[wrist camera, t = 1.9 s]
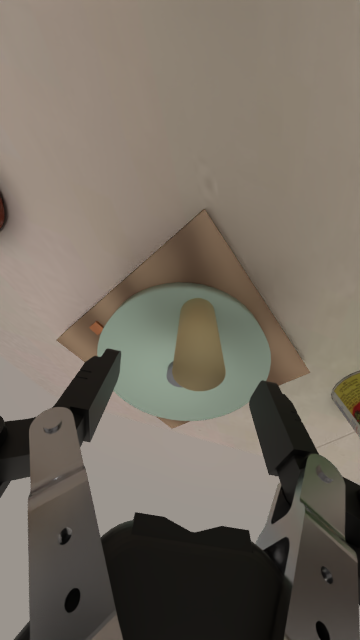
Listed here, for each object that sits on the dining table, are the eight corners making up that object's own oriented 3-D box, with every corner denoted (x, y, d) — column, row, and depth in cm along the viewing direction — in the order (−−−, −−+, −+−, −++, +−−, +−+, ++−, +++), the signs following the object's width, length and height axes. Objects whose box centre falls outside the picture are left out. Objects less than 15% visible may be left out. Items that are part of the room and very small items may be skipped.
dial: (232, 417, 27) (247, 501, 19) (105, 393, 26) (67, 471, 19) (296, 304, 18) (374, 379, 10) (104, 263, 17) (29, 310, 9)
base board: (203, 209, 16) (205, 209, 14) (302, 360, 24) (311, 374, 22) (66, 330, 24) (54, 341, 22) (173, 416, 32) (171, 430, 30)
